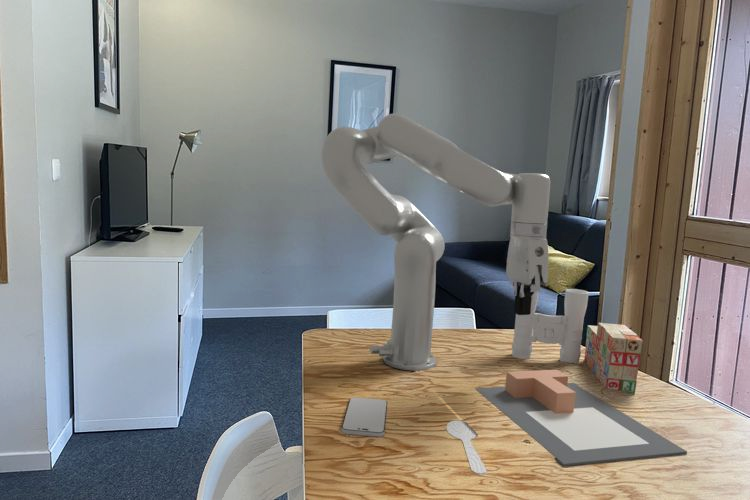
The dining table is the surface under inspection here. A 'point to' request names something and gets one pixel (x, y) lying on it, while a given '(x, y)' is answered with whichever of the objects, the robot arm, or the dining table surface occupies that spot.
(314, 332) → the dining table surface
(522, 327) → the binoculars
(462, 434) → the spoon
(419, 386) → the dining table surface
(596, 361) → the stack of blocks
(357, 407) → the smartphone
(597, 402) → the mat
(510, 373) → the t block
